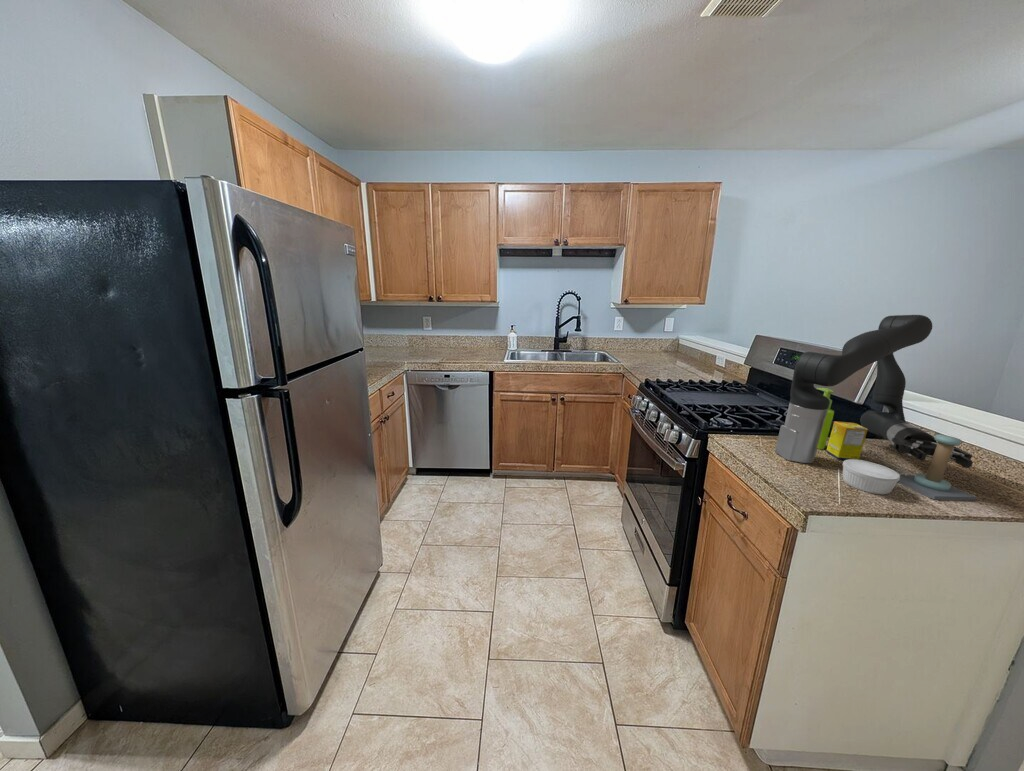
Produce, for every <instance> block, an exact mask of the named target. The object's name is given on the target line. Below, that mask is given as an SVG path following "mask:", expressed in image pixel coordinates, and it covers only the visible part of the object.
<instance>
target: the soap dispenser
mask: <svg viewBox="0 0 1024 771" xmlns="http://www.w3.org/2000/svg"><path fill="white" fill-rule="evenodd" d="M816 390H821V391H823V395H824V396H825V397H827V398H828V399H829V401H830V404H829V408H828V411H827V415H826V419H825V422H824V426H823V430H822V433H821V437H820V441H819V444H818V449H817V450H824V449H825V448H826V444H827V440H828V437H829V434H830V429H831V426H832V422H833V419H834V416H835V410H833V409H831V407H832V403H833V399H831V395H832V394H835V391H834V390H832V389H831V388H826V387H816Z"/></svg>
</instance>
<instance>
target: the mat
mask: <svg viewBox="0 0 1024 771" xmlns="http://www.w3.org/2000/svg"><path fill="white" fill-rule="evenodd" d="M899 475H900V480H899V481H897V483H899V484H901V485H903V486H905V487H908V488H909V489H911V490H914V491H915V492H917V493H919V494H922V495H924V496H926V497H928V498H930V499H931V498H932V500H933V499H934V500H938V501H940V500H941V501H976V500H977V496H975V495H974V494H971V493H968V492H966V491H964V490H961V489H959V488H958V487H955V486H952V485H951V487H950V489H949V491H937V490H933V489H929V488H926V487H923V486H921V485H919V484H917V483H915V482H914V478H915V475H916V474H912V475H911V474H910V475H909V474H899ZM934 500H933V501H934Z"/></svg>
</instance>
